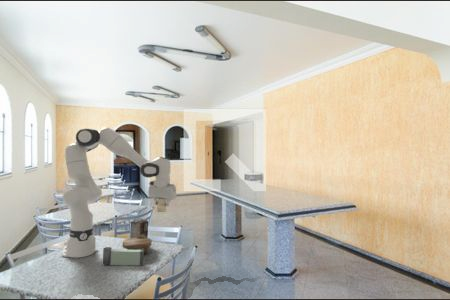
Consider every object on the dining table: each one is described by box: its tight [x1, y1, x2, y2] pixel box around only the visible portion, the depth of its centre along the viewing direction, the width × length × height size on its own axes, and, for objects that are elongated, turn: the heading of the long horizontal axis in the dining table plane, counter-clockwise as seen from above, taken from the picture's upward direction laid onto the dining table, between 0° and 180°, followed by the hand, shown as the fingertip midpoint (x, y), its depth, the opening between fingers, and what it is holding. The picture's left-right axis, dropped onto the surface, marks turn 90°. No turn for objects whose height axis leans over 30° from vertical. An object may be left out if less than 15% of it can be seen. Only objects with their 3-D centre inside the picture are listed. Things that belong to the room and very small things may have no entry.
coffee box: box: [129, 218, 149, 238], centre depth 175 cm, size 9×6×16 cm
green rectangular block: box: [102, 246, 145, 266], centre depth 147 cm, size 20×4×8 cm, turn 94°
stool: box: [122, 237, 153, 255], centre depth 160 cm, size 16×16×8 cm
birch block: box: [156, 198, 167, 213], centre depth 173 cm, size 5×5×8 cm
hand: (161, 205), depth 173 cm, fingers closed on birch block, 7 cm apart
